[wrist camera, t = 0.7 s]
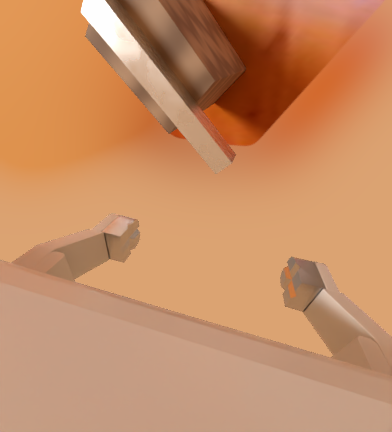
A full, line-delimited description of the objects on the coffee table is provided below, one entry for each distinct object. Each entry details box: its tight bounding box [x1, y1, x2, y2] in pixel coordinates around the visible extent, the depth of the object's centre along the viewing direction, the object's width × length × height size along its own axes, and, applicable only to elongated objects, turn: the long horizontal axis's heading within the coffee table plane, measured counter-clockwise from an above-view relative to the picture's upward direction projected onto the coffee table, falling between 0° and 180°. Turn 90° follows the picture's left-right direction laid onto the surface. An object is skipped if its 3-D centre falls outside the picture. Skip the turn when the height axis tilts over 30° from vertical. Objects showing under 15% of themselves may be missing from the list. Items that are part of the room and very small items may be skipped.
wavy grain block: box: [85, 0, 246, 134], centre depth 33 cm, size 16×10×26 cm, turn 45°
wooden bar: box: [81, 0, 236, 174], centre depth 24 cm, size 24×3×3 cm, turn 45°
